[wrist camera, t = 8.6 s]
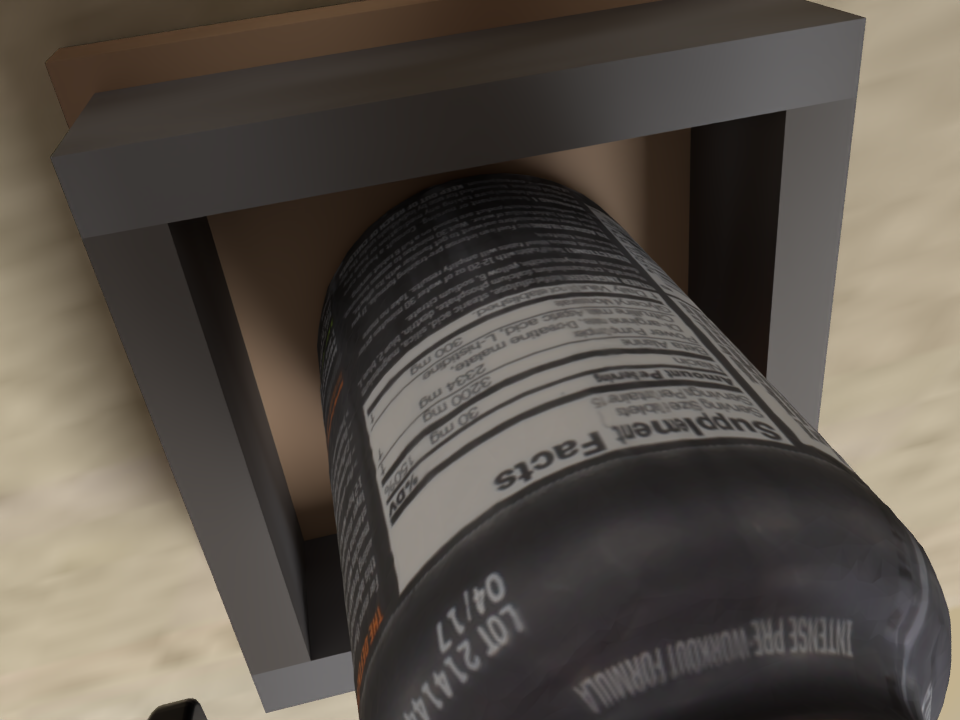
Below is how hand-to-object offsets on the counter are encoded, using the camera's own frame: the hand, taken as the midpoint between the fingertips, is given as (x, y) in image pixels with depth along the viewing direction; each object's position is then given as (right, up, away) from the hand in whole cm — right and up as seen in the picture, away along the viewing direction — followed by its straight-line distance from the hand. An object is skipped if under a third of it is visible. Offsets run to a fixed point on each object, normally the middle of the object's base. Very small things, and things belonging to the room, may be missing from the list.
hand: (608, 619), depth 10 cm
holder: (-2, +4, +7) cm, 8 cm away
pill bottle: (-1, +4, +6) cm, 7 cm away
